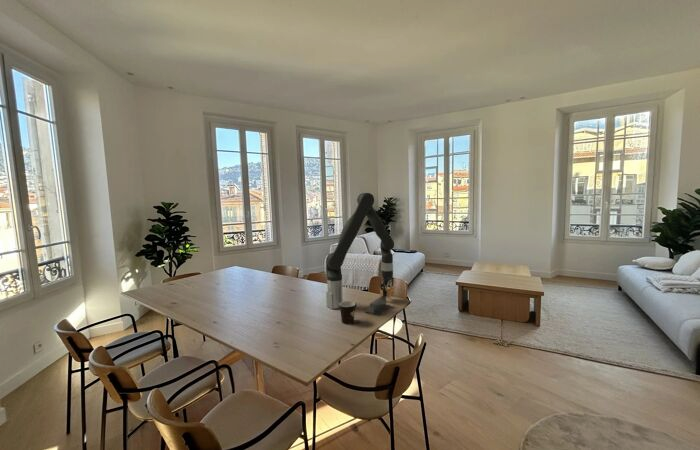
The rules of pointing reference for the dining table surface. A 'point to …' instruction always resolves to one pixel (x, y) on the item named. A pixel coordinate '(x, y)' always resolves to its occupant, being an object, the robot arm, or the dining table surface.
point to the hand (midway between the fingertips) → (387, 294)
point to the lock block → (388, 292)
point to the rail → (378, 306)
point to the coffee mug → (347, 312)
